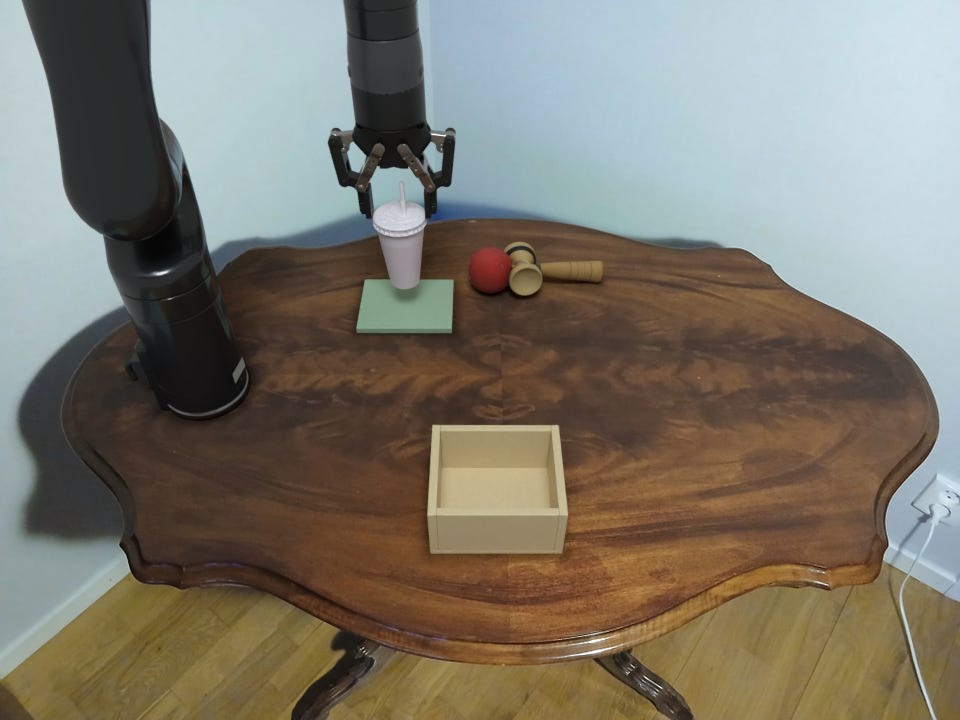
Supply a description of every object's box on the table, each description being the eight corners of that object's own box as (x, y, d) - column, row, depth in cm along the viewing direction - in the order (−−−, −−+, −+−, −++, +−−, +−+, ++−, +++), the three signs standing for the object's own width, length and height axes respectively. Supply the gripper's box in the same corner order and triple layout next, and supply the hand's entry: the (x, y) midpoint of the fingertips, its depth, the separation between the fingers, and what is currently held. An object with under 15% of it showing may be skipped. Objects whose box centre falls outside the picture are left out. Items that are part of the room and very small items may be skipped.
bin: (430, 553, 69) (427, 515, 65) (434, 464, 77) (432, 424, 72) (562, 553, 70) (568, 515, 65) (553, 464, 77) (558, 424, 73)
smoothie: (423, 299, 89) (416, 200, 80) (373, 292, 90) (360, 193, 81) (435, 268, 94) (431, 170, 84) (388, 261, 95) (377, 164, 85)
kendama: (586, 267, 104) (462, 262, 100) (600, 235, 99) (469, 229, 95) (597, 309, 100) (468, 305, 96) (612, 277, 94) (475, 273, 91)
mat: (356, 333, 92) (356, 328, 91) (365, 283, 99) (364, 279, 98) (451, 333, 92) (451, 328, 91) (453, 284, 99) (453, 279, 98)
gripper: (458, 59, 76) (461, 198, 88) (321, 59, 76) (342, 198, 88) (457, 90, 71) (459, 233, 83) (309, 90, 71) (333, 233, 83)
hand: (399, 214), depth 85 cm, fingers closed on smoothie, 6 cm apart
